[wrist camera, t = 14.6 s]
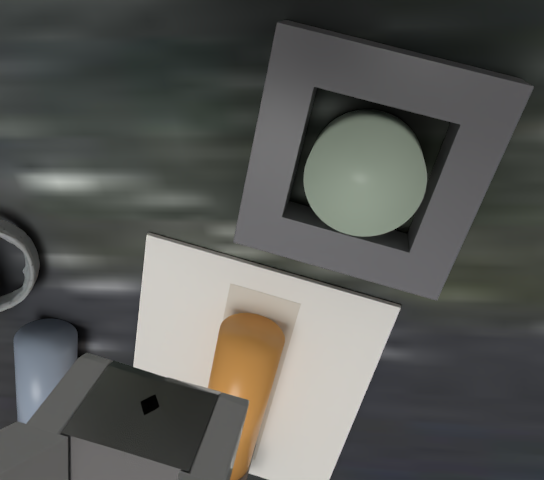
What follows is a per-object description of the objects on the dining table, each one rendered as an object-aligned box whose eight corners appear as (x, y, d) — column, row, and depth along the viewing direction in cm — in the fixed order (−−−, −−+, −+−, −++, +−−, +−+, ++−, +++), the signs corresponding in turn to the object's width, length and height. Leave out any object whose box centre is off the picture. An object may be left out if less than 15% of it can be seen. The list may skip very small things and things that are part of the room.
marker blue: (36, 312, 32) (-2, 348, 28) (89, 328, 31) (56, 366, 28) (39, 442, 37) (7, 484, 34) (84, 457, 37) (56, 500, 34)
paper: (148, 232, 27) (146, 234, 27) (400, 304, 26) (400, 308, 26) (128, 430, 35) (126, 434, 34) (322, 492, 34) (322, 497, 33)
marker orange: (228, 305, 28) (209, 346, 25) (290, 324, 28) (278, 367, 24) (198, 451, 34) (179, 498, 31) (249, 467, 34) (236, 517, 30)
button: (325, 96, 21) (320, 106, 20) (440, 126, 21) (446, 139, 19) (298, 200, 24) (291, 218, 22) (401, 228, 23) (402, 249, 22)
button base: (285, 19, 21) (276, 22, 19) (520, 78, 20) (534, 86, 19) (243, 225, 26) (233, 242, 24) (432, 278, 25) (436, 300, 23)
